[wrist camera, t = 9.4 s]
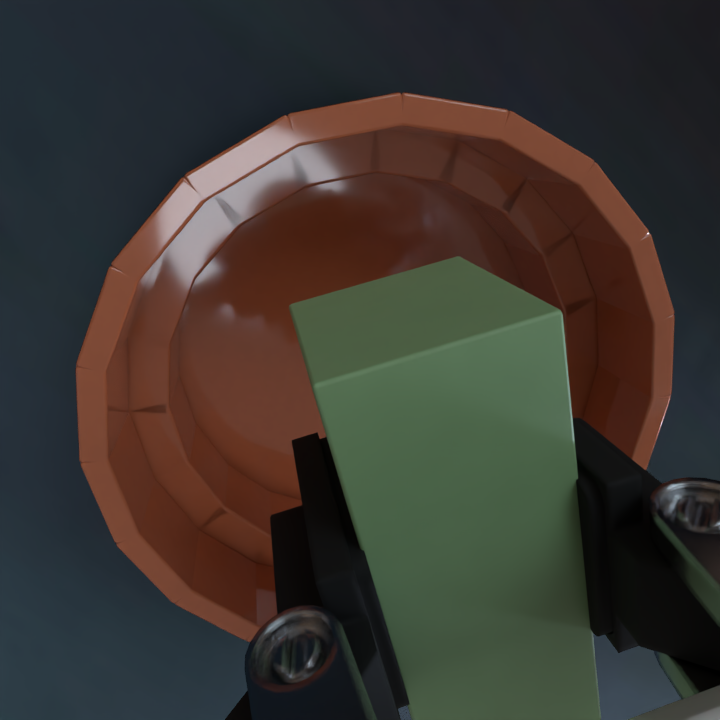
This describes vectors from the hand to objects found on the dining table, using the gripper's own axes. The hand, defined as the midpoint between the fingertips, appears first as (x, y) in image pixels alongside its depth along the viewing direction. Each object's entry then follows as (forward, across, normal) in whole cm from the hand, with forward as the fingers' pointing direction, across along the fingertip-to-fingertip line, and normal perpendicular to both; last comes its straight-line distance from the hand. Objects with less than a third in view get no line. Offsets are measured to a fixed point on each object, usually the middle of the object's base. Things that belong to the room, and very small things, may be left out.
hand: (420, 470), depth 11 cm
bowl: (+8, 0, 0) cm, 8 cm away
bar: (0, 0, 0) cm, 0 cm away
